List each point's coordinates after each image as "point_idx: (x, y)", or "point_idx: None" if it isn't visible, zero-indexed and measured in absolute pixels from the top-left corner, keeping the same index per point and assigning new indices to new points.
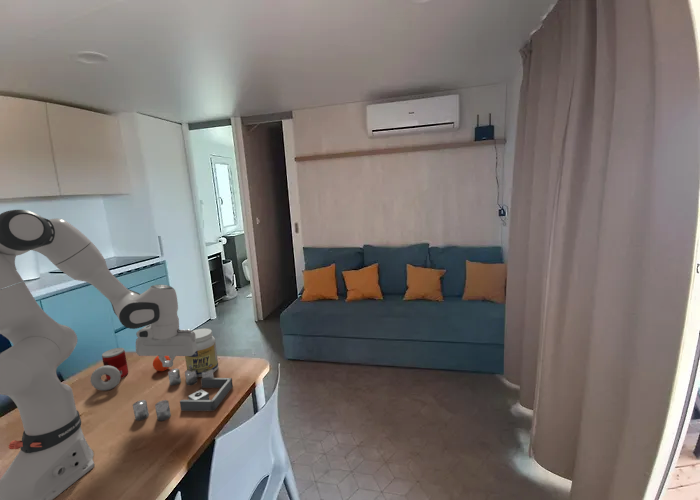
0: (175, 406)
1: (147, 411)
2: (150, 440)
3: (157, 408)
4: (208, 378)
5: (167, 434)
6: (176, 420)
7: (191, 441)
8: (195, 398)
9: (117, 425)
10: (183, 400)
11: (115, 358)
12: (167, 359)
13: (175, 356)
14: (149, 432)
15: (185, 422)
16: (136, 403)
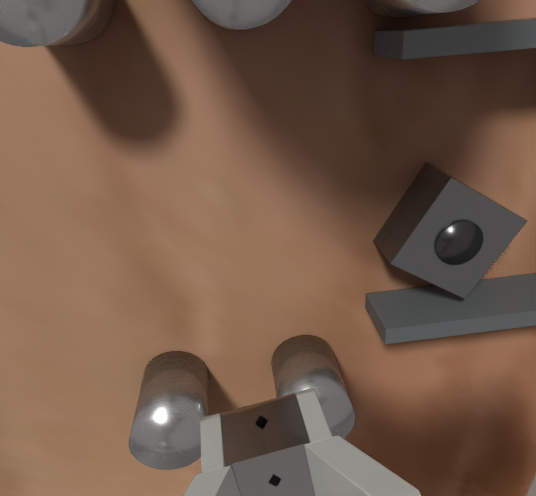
0: (305, 280)
1: (206, 387)
2: None
3: None
4: (474, 34)
5: (394, 435)
6: (383, 367)
7: (512, 443)
8: (457, 282)
9: (106, 436)
10: (404, 333)
11: None
12: None
13: (409, 487)
14: None
15: (436, 371)
16: (146, 447)
